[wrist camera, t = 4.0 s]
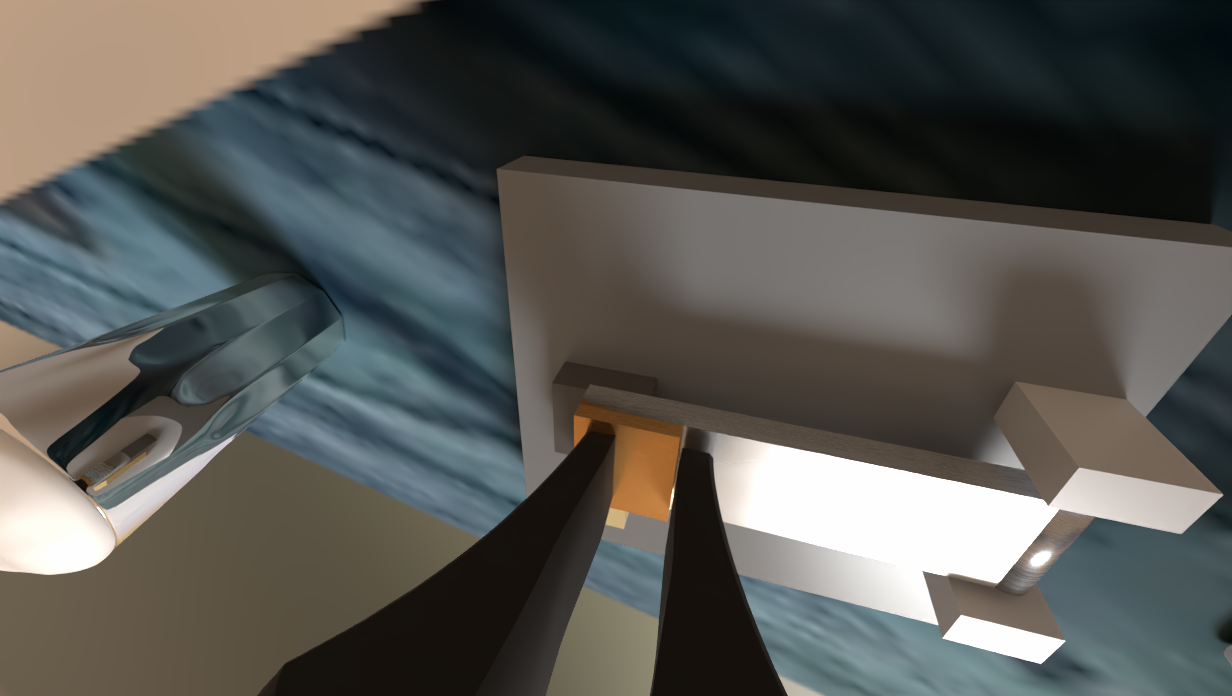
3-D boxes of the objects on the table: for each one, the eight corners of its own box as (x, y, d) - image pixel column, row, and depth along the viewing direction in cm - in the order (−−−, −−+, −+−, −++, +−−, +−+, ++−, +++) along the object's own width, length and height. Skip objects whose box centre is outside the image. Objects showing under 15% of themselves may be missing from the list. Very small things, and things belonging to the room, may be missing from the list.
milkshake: (203, 249, 16) (-364, 458, 8) (332, 252, 15) (-191, 507, 7) (264, 362, 19) (-127, 612, 10) (381, 373, 17) (36, 671, 9)
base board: (1213, 224, 9) (1464, 326, 6) (949, 585, 16) (998, 729, 12) (524, 155, 12) (431, 199, 8) (544, 488, 18) (496, 585, 15)
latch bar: (1086, 478, 10) (1125, 531, 9) (1017, 561, 11) (1044, 615, 10) (591, 382, 12) (573, 415, 11) (590, 462, 13) (574, 498, 12)
